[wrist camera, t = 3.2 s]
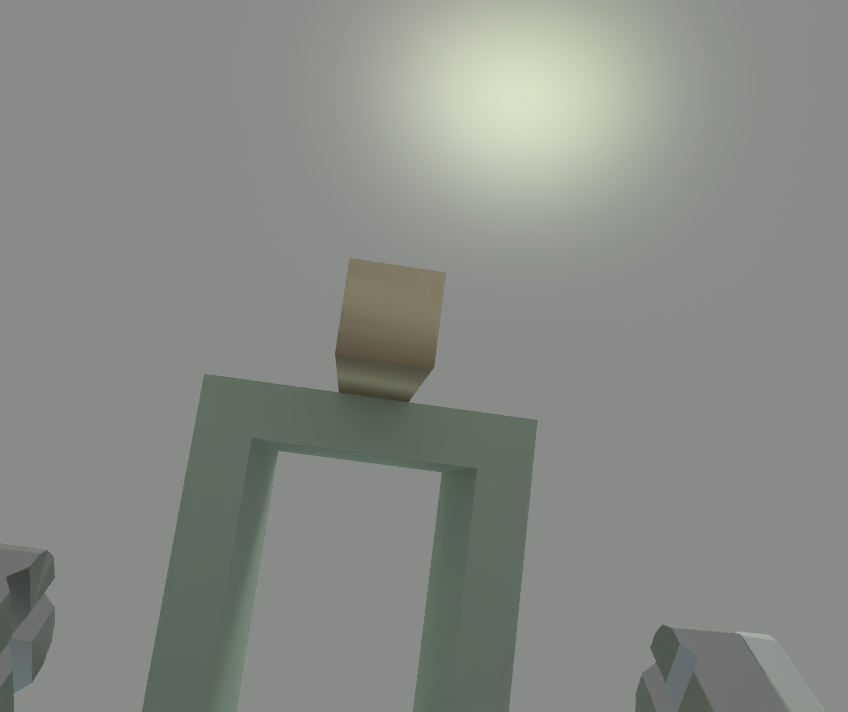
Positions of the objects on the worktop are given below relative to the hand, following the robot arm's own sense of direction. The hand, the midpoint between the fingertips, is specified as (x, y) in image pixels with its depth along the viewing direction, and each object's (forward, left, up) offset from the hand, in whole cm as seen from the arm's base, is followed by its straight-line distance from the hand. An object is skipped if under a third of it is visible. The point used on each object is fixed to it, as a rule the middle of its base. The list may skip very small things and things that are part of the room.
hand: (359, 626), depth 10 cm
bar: (0, +17, +5) cm, 18 cm away
